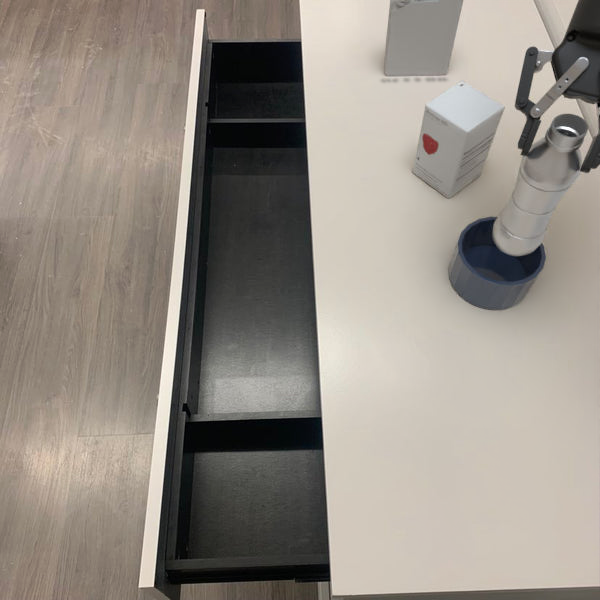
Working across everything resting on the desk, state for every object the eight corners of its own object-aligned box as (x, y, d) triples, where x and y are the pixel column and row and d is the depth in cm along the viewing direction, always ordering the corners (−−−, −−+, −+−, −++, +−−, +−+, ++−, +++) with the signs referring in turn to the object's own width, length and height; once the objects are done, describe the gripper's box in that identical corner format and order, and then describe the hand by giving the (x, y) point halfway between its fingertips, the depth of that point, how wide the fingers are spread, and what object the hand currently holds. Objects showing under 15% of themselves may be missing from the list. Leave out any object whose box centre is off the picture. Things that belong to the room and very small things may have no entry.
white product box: (410, 172, 95) (423, 103, 83) (444, 148, 98) (461, 77, 85) (448, 200, 92) (468, 132, 79) (482, 175, 94) (507, 105, 82)
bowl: (547, 287, 82) (564, 260, 76) (483, 323, 79) (496, 299, 73) (493, 233, 88) (505, 205, 82) (432, 265, 85) (440, 238, 79)
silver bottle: (544, 234, 72) (611, 115, 55) (528, 270, 69) (593, 156, 52) (498, 217, 74) (549, 96, 57) (480, 251, 71) (528, 135, 54)
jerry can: (372, 77, 110) (383, -54, 89) (371, 62, 113) (382, -69, 91) (447, 76, 109) (476, -57, 88) (444, 61, 112) (472, -72, 90)
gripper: (552, -35, 50) (487, 143, 55) (719, -5, 47) (633, 182, 52) (545, -8, 57) (487, 148, 62) (689, 20, 54) (616, 183, 59)
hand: (554, 163), depth 57 cm, fingers closed on silver bottle, 5 cm apart
